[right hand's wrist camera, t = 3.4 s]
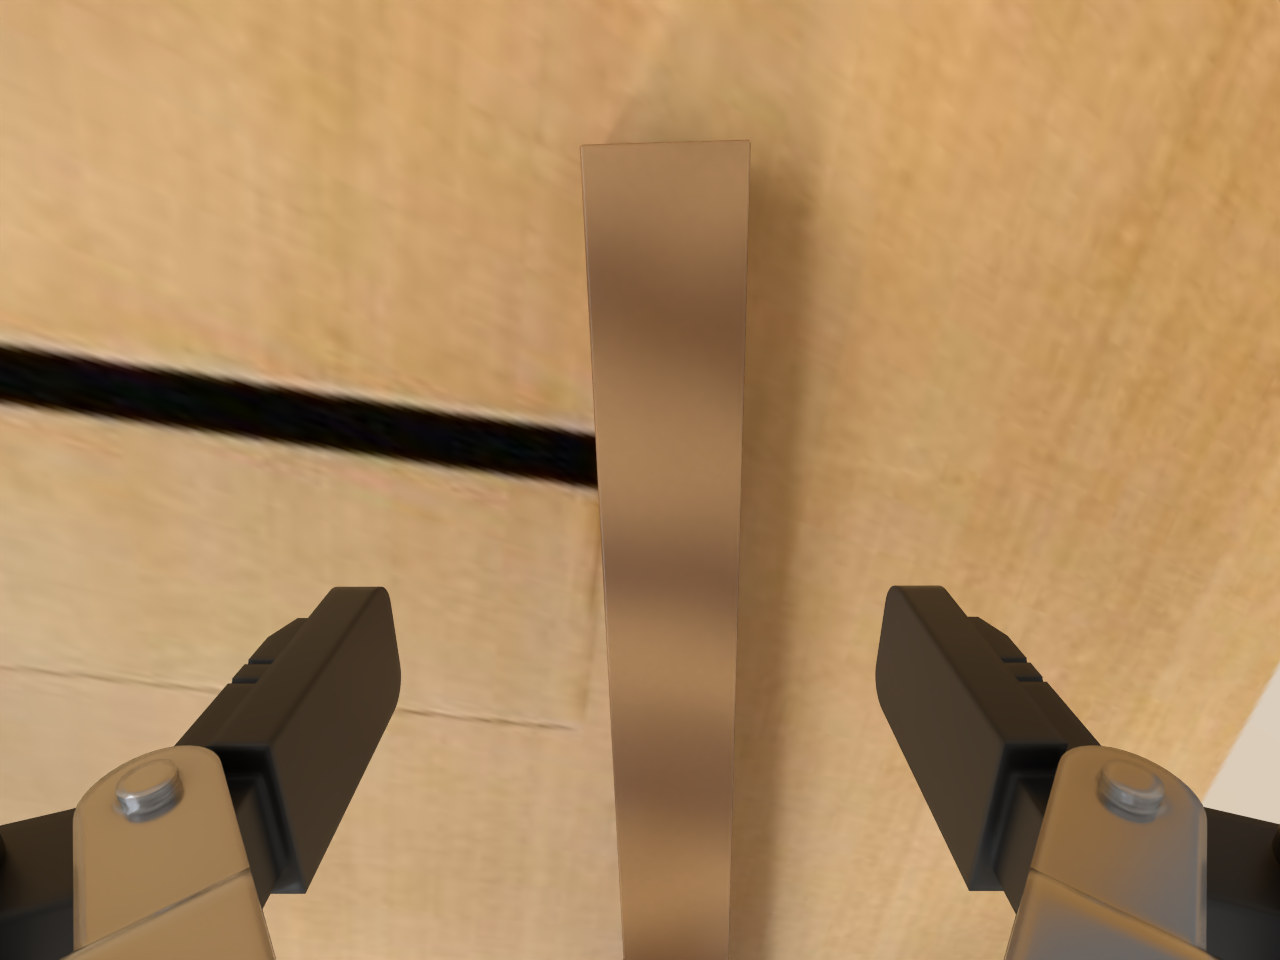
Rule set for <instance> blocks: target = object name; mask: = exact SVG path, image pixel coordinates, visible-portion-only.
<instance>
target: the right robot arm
mask: <svg viewBox="0 0 1280 960" xmlns="http://www.w3.org/2000/svg"><path fill="white" fill-rule="evenodd" d="M1026 659H1027V658H1026V657H1025V656H1024V655H1023V653H1022V652H1021V651H1020V650H1019V649H1018V648H1017V646H1016V645H1015V644H1014V643H1013V642H1012V641H1011V639H1010V638H1009V637H1008V636H1007V635H1005V634H1004V633H1002V632H1001V631H999V630H998V629H996V628H994V627H993V626H991V625H990V624H988V623H987V622H985V621H984V620H982V619H980V618H979V617H967V616H966V614H965V613H964V612H963V611H962V609H961V608H960V607H959V606H958V604H957V603H956V602H955V601H954V599H953V598H952V597H951V596H950V594H949V593H948V592H947V591H946V589H945V588H943V587H942V586H892V587H891V588H890V589H889V591H888V593H887V597H886V602H885V609H884V616H883V622H882V629H881V636H880V643H879V649H878V656H877V663H876V689H877V695H878V699H879V702H880V706H881V708H882V710H883V712H884V714H885V716H886V719H887V721H888V723H889V725H890V727H891V729H892V731H893V733H894V735H895V737H896V739H897V741H898V744H899V746H900V748H901V750H902V752H903V754H904V756H905V758H906V760H907V762H908V764H909V766H910V769H911V771H912V773H913V775H914V777H915V779H916V781H917V783H918V785H919V787H920V789H921V791H922V793H923V796H924V798H925V800H926V802H927V804H928V806H929V808H930V810H931V812H932V814H933V816H934V818H935V821H936V823H937V825H938V827H939V829H940V831H941V833H942V835H943V837H944V839H945V841H946V843H947V846H948V848H949V850H950V852H951V854H952V856H953V858H954V860H955V862H956V864H957V866H958V868H959V871H960V873H961V875H962V877H963V879H964V881H965V883H966V885H967V887H968V889H969V891H1004V892H1005V894H1006V896H1007V898H1008V900H1009V902H1010V904H1011V906H1012V907H1013V909H1014V911H1015V913H1016V917H1015V921H1014V924H1013V928H1012V932H1011V935H1010V939H1009V943H1008V946H1007V950H1006V953H1005V957H1004V960H1280V824H1275V823H1271V822H1267V821H1262V820H1258V819H1253V818H1249V817H1245V816H1241V815H1236V814H1232V813H1227V812H1223V811H1219V810H1214V809H1210V808H1205V807H1203V805H1202V803H1201V802H1200V800H1199V799H1198V797H1197V796H1196V795H1195V794H1194V793H1193V791H1192V790H1191V789H1190V788H1189V787H1188V786H1187V785H1186V784H1184V783H1183V782H1182V781H1181V780H1180V779H1179V778H1177V777H1176V776H1175V775H1173V774H1172V773H1170V772H1169V771H1167V770H1166V769H1164V768H1162V767H1161V766H1159V765H1157V764H1155V763H1153V762H1151V761H1150V760H1148V759H1145V758H1143V757H1141V756H1138V755H1136V754H1133V753H1130V752H1127V751H1124V750H1120V749H1116V748H1112V747H1105V746H1101V745H1100V744H1099V743H1098V741H1097V740H1096V739H1095V738H1094V737H1093V736H1092V734H1091V733H1090V732H1089V731H1088V730H1087V728H1086V727H1085V726H1084V725H1083V724H1082V723H1081V721H1080V720H1079V719H1078V718H1077V717H1076V716H1075V714H1074V713H1073V712H1072V711H1071V710H1070V709H1069V707H1068V706H1067V705H1066V704H1065V703H1064V702H1063V700H1062V699H1061V698H1060V697H1059V696H1058V694H1057V693H1056V692H1055V691H1054V690H1053V689H1052V687H1051V686H1050V685H1049V684H1048V683H1047V682H1043V679H1042V676H1041V675H1040V673H1039V672H1038V671H1037V670H1036V669H1035V668H1034V666H1033V665H1032V664H1031V663H1027V660H1026ZM400 685H401V669H400V661H399V655H398V648H397V642H396V635H395V628H394V622H393V615H392V608H391V602H390V597H389V594H388V592H387V590H386V589H385V588H384V587H334V588H333V589H331V590H330V592H329V593H328V594H327V595H326V597H325V598H324V599H323V600H322V601H321V603H320V604H319V605H318V606H317V608H316V609H315V610H314V611H313V613H312V614H311V615H310V616H309V618H297V619H296V620H294V621H293V622H291V623H289V624H288V625H286V626H285V627H283V628H282V629H280V630H279V631H277V632H275V633H274V634H272V635H271V636H269V637H268V638H267V639H266V640H265V641H264V642H263V644H262V645H261V646H260V647H259V648H258V649H257V651H256V652H255V653H254V654H253V655H252V656H251V658H250V659H249V663H248V664H245V665H244V666H243V667H242V668H241V669H240V670H239V672H238V673H237V674H236V675H235V676H234V677H233V678H232V684H227V685H226V687H225V688H224V689H223V690H222V691H221V692H220V694H219V695H218V696H217V697H216V698H215V699H214V701H213V702H212V703H211V704H210V705H209V706H208V708H207V709H206V710H205V711H204V712H203V713H202V714H201V716H200V717H199V718H198V719H197V720H196V721H195V723H194V724H193V725H192V726H191V727H190V728H189V730H188V731H187V732H186V733H185V734H184V735H183V737H182V738H181V739H180V740H179V741H178V742H177V744H176V745H175V746H174V747H168V748H164V749H160V750H156V751H153V752H150V753H147V754H144V755H142V756H139V757H137V758H135V759H132V760H130V761H129V762H127V763H125V764H123V765H121V766H119V767H118V768H116V769H114V770H113V771H111V772H110V773H108V774H107V775H105V776H104V777H103V778H101V779H100V780H99V781H98V782H97V783H96V784H94V785H93V786H92V787H91V788H90V789H89V790H88V791H87V793H86V794H85V795H84V796H83V797H82V799H81V800H80V802H79V803H78V805H77V807H76V808H74V809H70V810H66V811H62V812H58V813H53V814H49V815H44V816H40V817H36V818H31V819H27V820H23V821H18V822H14V823H10V824H5V825H1V826H0V960H276V957H275V953H274V950H273V946H272V943H271V939H270V935H269V932H268V928H267V924H266V921H265V917H264V914H263V910H262V909H263V907H264V905H265V903H266V901H267V899H268V897H269V896H270V894H305V893H306V891H307V889H308V887H309V885H310V883H311V881H312V879H313V877H314V875H315V873H316V871H317V869H318V867H319V865H320V862H321V860H322V858H323V856H324V854H325V852H326V850H327V848H328V846H329V844H330V842H331V840H332V838H333V836H334V834H335V832H336V830H337V827H338V825H339V823H340V821H341V819H342V817H343V815H344V813H345V811H346V809H347V807H348V805H349V803H350V801H351V799H352V797H353V795H354V793H355V790H356V788H357V786H358V784H359V782H360V780H361V778H362V776H363V774H364V772H365V770H366V768H367V766H368V764H369V762H370V760H371V758H372V755H373V753H374V751H375V749H376V747H377V745H378V743H379V741H380V739H381V737H382V735H383V733H384V731H385V729H386V727H387V725H388V723H389V721H390V718H391V716H392V714H393V712H394V710H395V708H396V705H397V702H398V698H399V693H400Z"/></svg>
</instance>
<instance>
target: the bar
mask: <svg viewBox="0 0 1280 960" xmlns="http://www.w3.org/2000/svg"><path fill="white" fill-rule="evenodd" d="M750 147H751V143H750V141H749V140H727V141H693V142H660V143H627V144H593V145H581V146H580V158H581V176H582V195H583V213H584V232H585V250H586V269H587V288H588V306H589V325H590V343H591V362H592V380H593V399H594V417H595V436H596V455H597V473H598V492H599V510H600V529H601V547H602V566H603V584H604V603H605V622H606V640H607V659H608V677H609V696H610V714H611V733H612V751H613V770H614V788H615V807H616V826H617V844H618V863H619V881H620V900H621V918H622V937H623V955H624V960H728V950H729V914H730V877H731V841H732V804H733V768H734V731H735V695H736V658H737V622H738V585H739V549H740V512H741V476H742V439H743V403H744V366H745V329H746V293H747V256H748V220H749V183H750Z"/></svg>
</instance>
